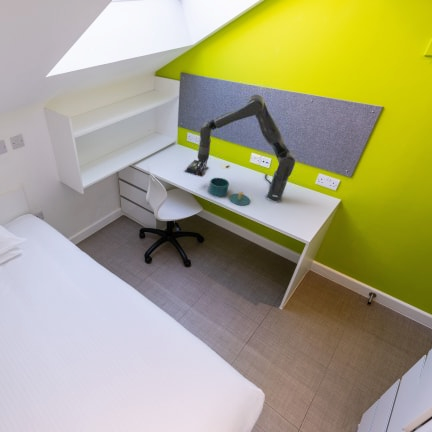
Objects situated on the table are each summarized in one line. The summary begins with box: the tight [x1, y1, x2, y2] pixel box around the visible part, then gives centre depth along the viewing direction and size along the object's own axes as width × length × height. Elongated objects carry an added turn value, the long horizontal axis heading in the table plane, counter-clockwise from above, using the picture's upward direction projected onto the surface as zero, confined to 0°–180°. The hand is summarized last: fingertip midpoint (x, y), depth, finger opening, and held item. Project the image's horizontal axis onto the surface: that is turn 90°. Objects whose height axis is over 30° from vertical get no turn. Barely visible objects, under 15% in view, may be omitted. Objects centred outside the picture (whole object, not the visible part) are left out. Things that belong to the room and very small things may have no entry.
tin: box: [208, 177, 230, 198], centre depth 206 cm, size 13×13×8 cm
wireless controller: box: [184, 158, 209, 176], centre depth 231 cm, size 20×14×17 cm
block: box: [195, 168, 207, 178], centre depth 208 cm, size 5×5×5 cm
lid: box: [228, 191, 251, 207], centre depth 199 cm, size 14×14×6 cm
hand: (200, 174), depth 209 cm, fingers closed on block, 4 cm apart
